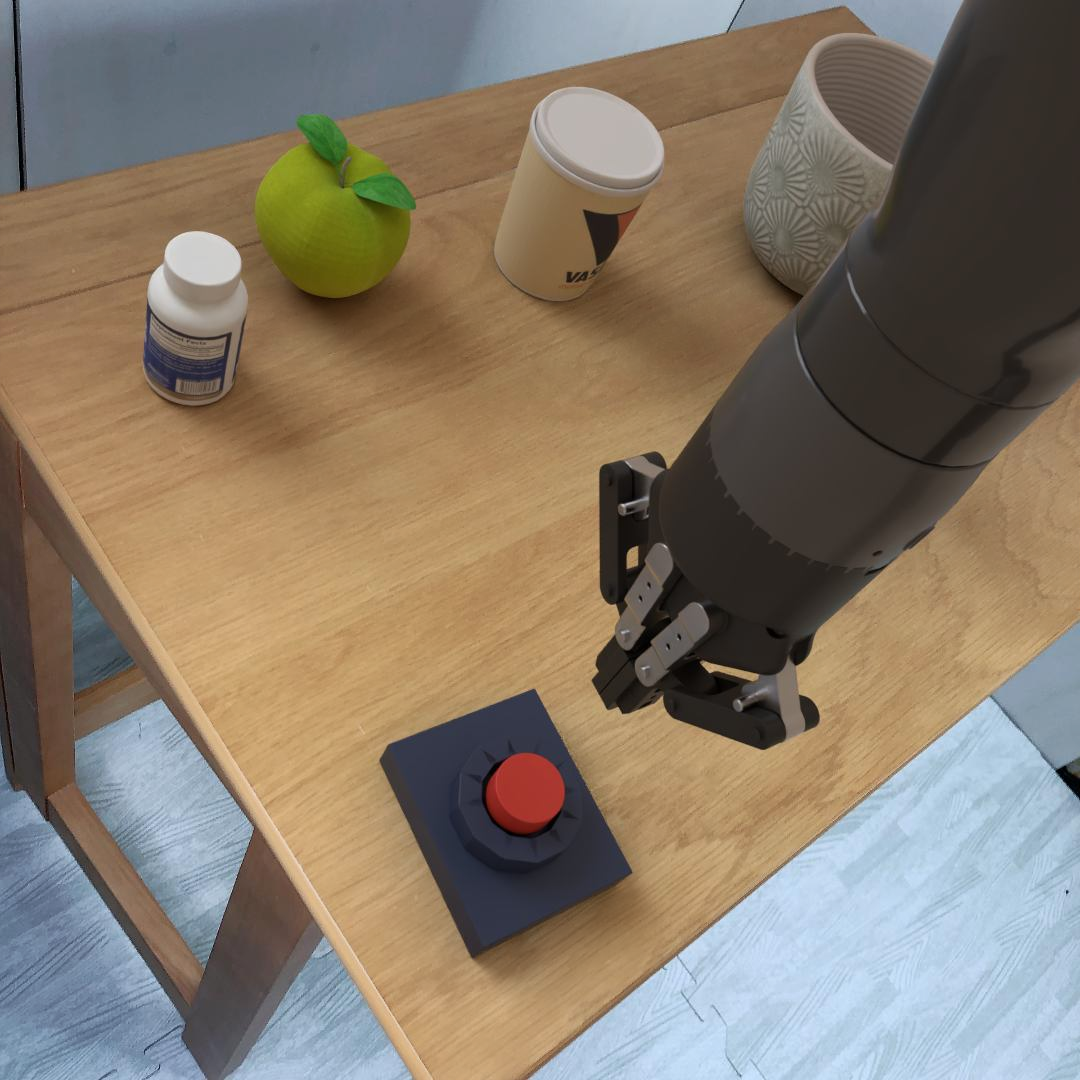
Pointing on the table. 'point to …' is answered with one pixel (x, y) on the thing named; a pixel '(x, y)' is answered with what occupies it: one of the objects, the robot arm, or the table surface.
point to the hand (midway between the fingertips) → (617, 690)
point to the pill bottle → (195, 320)
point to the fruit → (332, 213)
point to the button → (525, 793)
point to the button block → (480, 842)
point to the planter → (830, 151)
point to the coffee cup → (575, 191)
